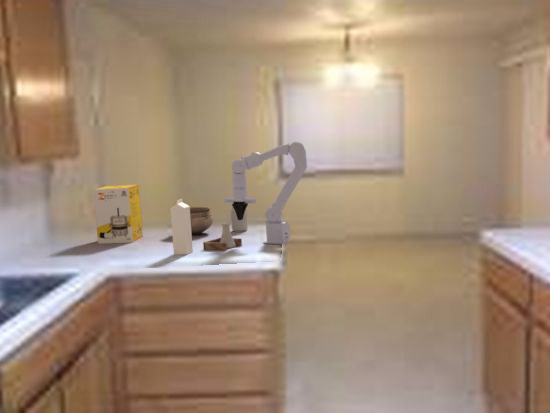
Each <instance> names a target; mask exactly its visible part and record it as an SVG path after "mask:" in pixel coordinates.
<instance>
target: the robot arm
mask: <svg viewBox="0 0 550 413" xmlns="http://www.w3.org/2000/svg"><path fill="white" fill-rule="evenodd" d="M280 155H284V156H289V155H290V156H291V158H292V159H293V163H294V168H293V170H292V171H291V173H290V175H289V177H288V178H287V179H286V181H285V184H284V185H283V186H282V188H281V190H280V192H279V193H278V195H277V196H276V198H275V199H274V202H273V203H272V204H271V205H270V206H268V208H267V210H266V212H265V217H266V220H265V233H266V241H263V242H262V243H263V244H268V245H269V244H271V245H282V244H283V245H284V244H286V243H289V242H291V241H292V240H291V236H290V232H291V231H290V224H289V223H288V222H285V221H284V219H282V218H281V217H282V211H283V209H284V208H285V206H286V204H287V202H288V201H289V200H290V197H291V196H292V194H293V192H294V190H295V188H296V187H297V185H298V184H299V182H300V180H301V178H302V177H303V176H304V173H305V172H306V170H307V167H308V166H307V164H308V163H307V151H306V149H305V147H304V145H303V143H302V142H300V141H294V142H290V143H286V144H281V145H278V146H277V147H273V148H272V149H270V150H266V151H265V152H262V153H260V152H258V151H256V152H255V151H252V152H251V154H248V155H245V156H240V158H237V159H235V160H234V161H233V162H232V164H231V170H232V179H231V180H232V197H224V198H223V199H224V200H223V202H224V203H232V204H231V207H233V208H234V210H235V212H236V215H237V219H238V220H243V216H244V212H245V210H246V211H247V208H248V205H249V204H257V202H256V201H257V199H256V198H252V197H251V198H250V197H247V176H246V170H248V171H249V170H252V169H255V168H258V167H260V166H262V165H263V164H264V161H266V160H269V159H271V158H274V157H277V156H280Z"/></svg>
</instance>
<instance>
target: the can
mask: <svg viewBox="0 0 550 413" xmlns="http://www.w3.org/2000/svg"><path fill="white" fill-rule="evenodd" d="M230 219H231V221H230V222H231V230H232V231H233V232H236V233H240V232H246V231H247V230H248V215H247V209H246V210H245V212H244V216H243V220H238V219H237V215H236V212H235V210H234V208H233V206H231V209H230Z"/></svg>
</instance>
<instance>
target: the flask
mask: <svg viewBox="0 0 550 413" xmlns="http://www.w3.org/2000/svg"><path fill="white" fill-rule="evenodd" d="M221 226H222V233H221V236H220V238H221V240H220V243H226V245H227V249H232V248H235V247H237V246H236V244H235V242H234V240H233V238H234V237H233V236H232V233H231V229H230V223H229V222H224V223H223V222H222V223H221Z"/></svg>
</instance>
